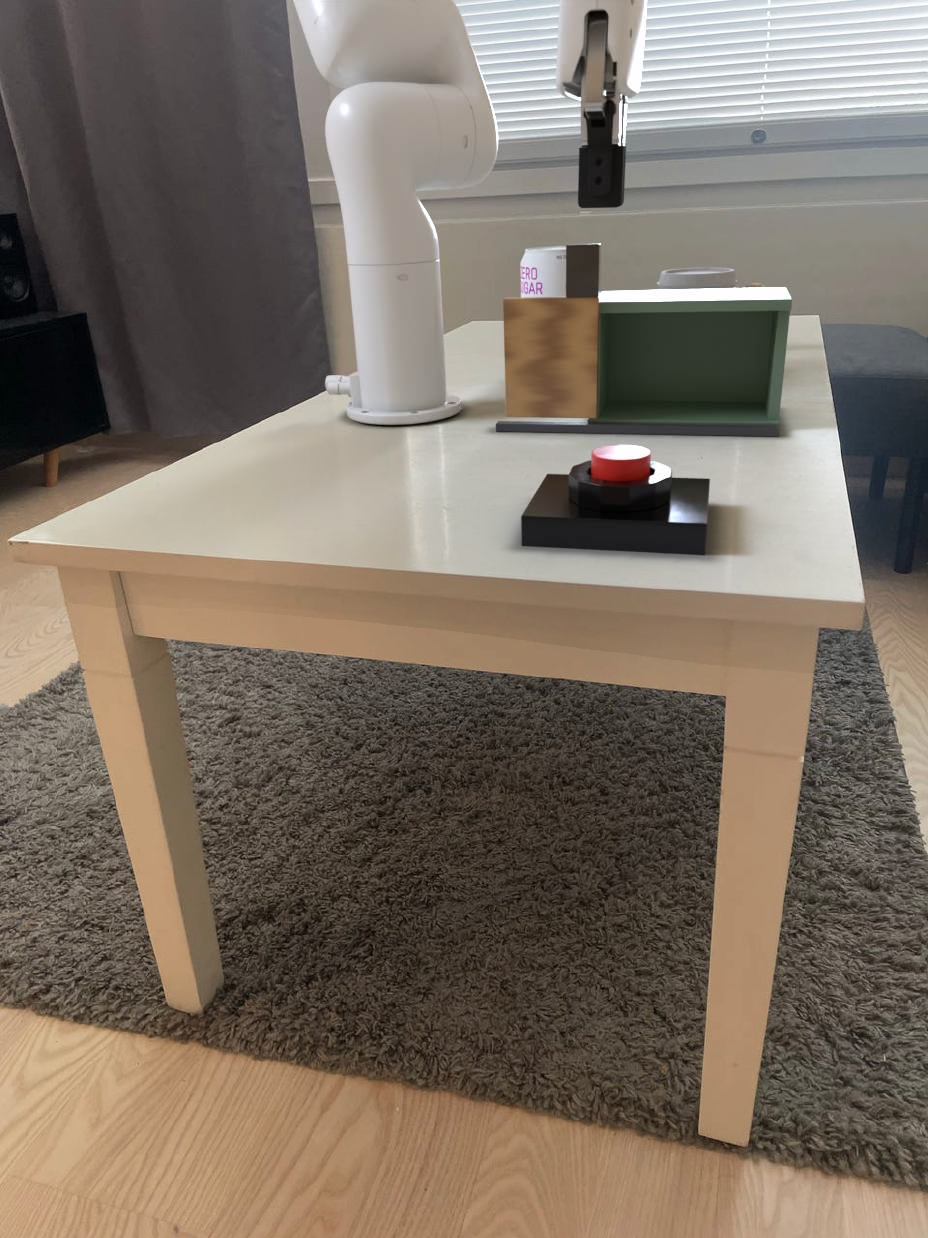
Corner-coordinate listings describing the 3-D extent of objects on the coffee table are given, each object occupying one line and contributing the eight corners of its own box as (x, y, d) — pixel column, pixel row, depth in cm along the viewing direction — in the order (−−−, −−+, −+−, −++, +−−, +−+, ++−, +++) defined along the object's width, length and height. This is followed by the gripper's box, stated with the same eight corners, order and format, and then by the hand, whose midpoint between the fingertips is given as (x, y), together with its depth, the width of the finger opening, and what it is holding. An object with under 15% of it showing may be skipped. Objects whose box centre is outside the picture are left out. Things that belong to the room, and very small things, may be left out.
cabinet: (495, 431, 91) (491, 305, 86) (518, 406, 101) (516, 292, 96) (779, 436, 85) (793, 300, 79) (773, 409, 94) (785, 287, 89)
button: (587, 484, 62) (587, 458, 61) (594, 467, 65) (595, 443, 64) (647, 486, 61) (648, 460, 60) (651, 469, 64) (653, 444, 63)
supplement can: (594, 366, 121) (597, 245, 115) (567, 377, 115) (567, 250, 109) (540, 363, 125) (540, 245, 119) (511, 374, 119) (508, 250, 113)
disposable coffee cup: (716, 381, 109) (724, 274, 104) (641, 376, 114) (645, 274, 109) (740, 367, 116) (748, 267, 111) (668, 363, 121) (673, 267, 116)
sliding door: (505, 417, 90) (501, 247, 84) (507, 414, 91) (503, 246, 85) (596, 418, 88) (599, 243, 81) (597, 416, 89) (600, 243, 82)
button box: (521, 546, 61) (520, 489, 60) (547, 501, 70) (546, 450, 68) (704, 556, 58) (709, 496, 57) (707, 507, 67) (711, 453, 65)
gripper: (573, -70, 67) (568, 203, 75) (531, -124, 54) (530, 213, 62) (677, -80, 65) (660, 201, 73) (660, -139, 52) (641, 211, 60)
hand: (600, 206), depth 68 cm, fingers closed
